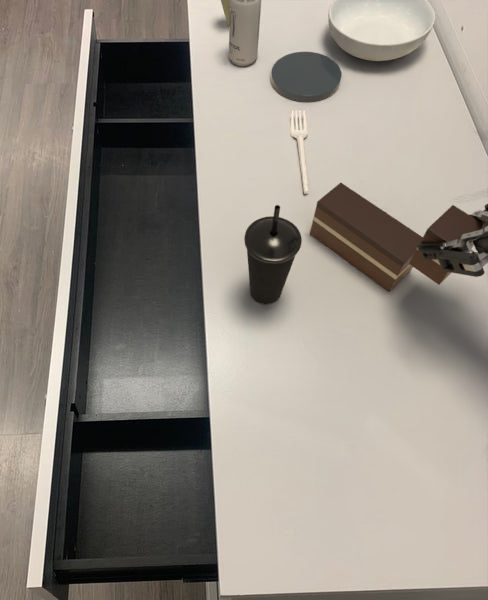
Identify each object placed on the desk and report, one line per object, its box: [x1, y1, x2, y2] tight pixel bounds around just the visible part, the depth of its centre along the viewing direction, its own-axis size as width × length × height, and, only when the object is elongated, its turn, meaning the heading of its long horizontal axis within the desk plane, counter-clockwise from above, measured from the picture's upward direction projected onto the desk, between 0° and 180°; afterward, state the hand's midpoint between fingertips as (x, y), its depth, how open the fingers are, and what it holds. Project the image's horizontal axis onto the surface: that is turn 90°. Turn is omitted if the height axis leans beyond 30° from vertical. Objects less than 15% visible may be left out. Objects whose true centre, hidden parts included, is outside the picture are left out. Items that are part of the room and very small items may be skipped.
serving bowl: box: [327, 0, 436, 62], centre depth 110 cm, size 21×21×7 cm
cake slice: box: [409, 204, 484, 286], centre depth 71 cm, size 6×5×8 cm
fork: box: [289, 109, 309, 195], centre depth 97 cm, size 3×20×2 cm, turn 178°
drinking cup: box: [244, 204, 303, 305], centre depth 74 cm, size 8×8×20 cm
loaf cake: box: [309, 182, 423, 293], centre depth 82 cm, size 6×16×8 cm, turn 42°
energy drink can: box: [228, 0, 262, 67], centre depth 106 cm, size 6×6×15 cm
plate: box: [270, 51, 343, 103], centre depth 108 cm, size 14×14×2 cm
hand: (435, 237), depth 72 cm, fingers closed on cake slice, 5 cm apart
